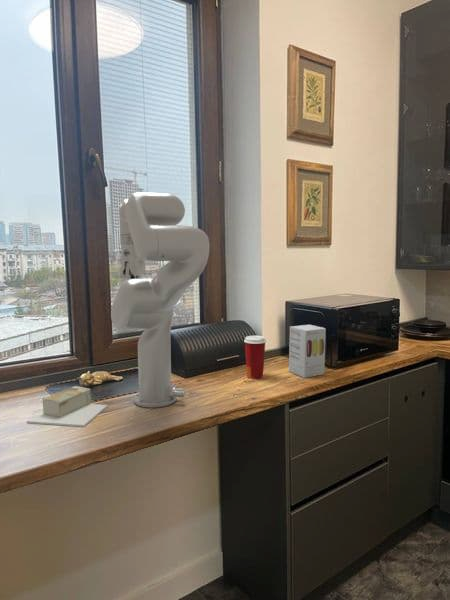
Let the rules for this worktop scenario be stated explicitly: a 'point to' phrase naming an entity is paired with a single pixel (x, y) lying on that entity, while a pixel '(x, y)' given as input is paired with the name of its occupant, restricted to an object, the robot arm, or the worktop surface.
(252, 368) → the paper cup
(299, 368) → the supplement box
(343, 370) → the worktop surface
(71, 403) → the skincare box
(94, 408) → the mat
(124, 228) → the robot arm
